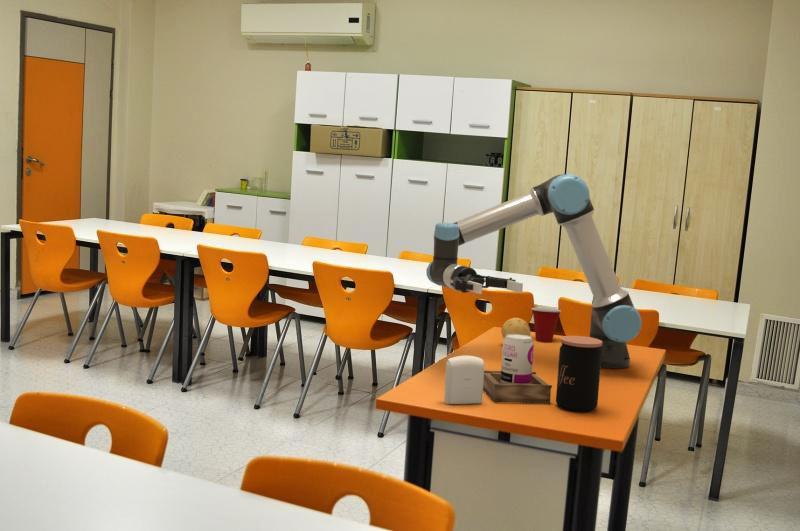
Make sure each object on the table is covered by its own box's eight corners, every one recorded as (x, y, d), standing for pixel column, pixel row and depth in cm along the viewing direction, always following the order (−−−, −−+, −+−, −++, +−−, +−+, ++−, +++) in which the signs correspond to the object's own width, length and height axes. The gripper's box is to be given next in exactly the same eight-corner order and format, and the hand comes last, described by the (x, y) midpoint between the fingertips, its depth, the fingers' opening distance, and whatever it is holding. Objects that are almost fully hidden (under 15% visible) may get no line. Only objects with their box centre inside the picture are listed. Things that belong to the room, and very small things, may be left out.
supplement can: (532, 389, 236) (536, 335, 235) (527, 396, 229) (531, 340, 227) (503, 385, 239) (507, 332, 237) (497, 392, 231) (500, 337, 229)
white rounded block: (446, 405, 220) (449, 357, 219) (441, 400, 224) (444, 354, 223) (484, 404, 223) (487, 357, 222) (478, 400, 227) (482, 354, 226)
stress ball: (506, 345, 307) (491, 328, 302) (525, 324, 308) (510, 308, 303) (521, 355, 298) (505, 338, 293) (540, 334, 299) (525, 317, 294)
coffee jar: (550, 401, 230) (555, 334, 228) (589, 402, 231) (595, 336, 229) (561, 412, 219) (567, 343, 217) (602, 414, 220) (608, 344, 218)
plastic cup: (557, 339, 319) (560, 307, 318) (560, 344, 308) (562, 311, 307) (528, 336, 320) (530, 304, 319) (529, 342, 309) (532, 309, 308)
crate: (534, 388, 242) (535, 371, 242) (550, 403, 227) (552, 385, 227) (480, 387, 240) (481, 370, 240) (493, 402, 225) (494, 384, 225)
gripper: (494, 289, 264) (536, 300, 245) (424, 291, 252) (462, 303, 234) (496, 265, 263) (538, 274, 245) (425, 266, 252) (464, 275, 233)
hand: (501, 288), depth 239 cm, fingers open, 13 cm apart
